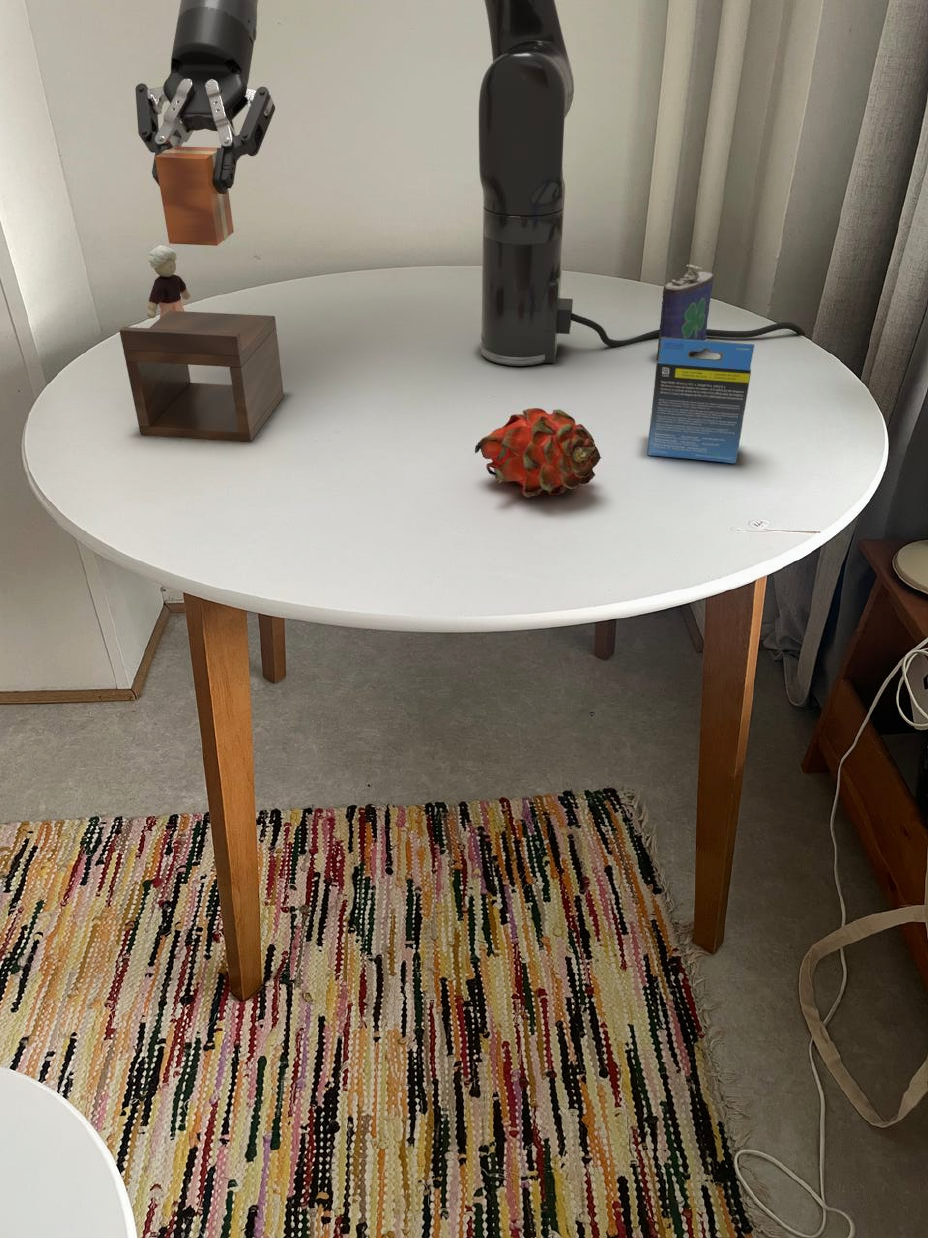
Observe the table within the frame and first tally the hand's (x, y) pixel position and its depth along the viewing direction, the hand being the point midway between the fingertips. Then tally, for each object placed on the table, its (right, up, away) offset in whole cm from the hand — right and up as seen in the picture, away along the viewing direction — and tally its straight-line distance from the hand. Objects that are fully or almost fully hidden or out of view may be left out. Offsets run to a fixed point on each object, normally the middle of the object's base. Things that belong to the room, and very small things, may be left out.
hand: (191, 187), depth 97 cm
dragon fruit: (+33, -30, -2) cm, 45 cm away
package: (0, -4, +4) cm, 5 cm away
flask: (+53, -9, +27) cm, 61 cm away
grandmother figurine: (-9, -9, +28) cm, 30 cm away
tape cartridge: (+50, -25, +4) cm, 56 cm away
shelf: (-1, -20, +12) cm, 23 cm away
